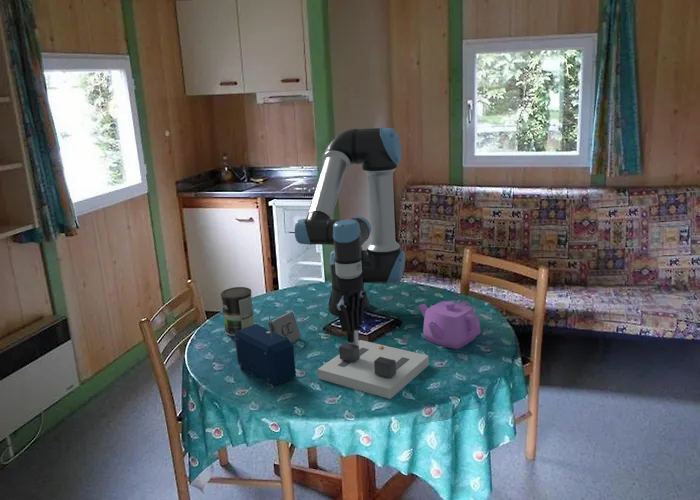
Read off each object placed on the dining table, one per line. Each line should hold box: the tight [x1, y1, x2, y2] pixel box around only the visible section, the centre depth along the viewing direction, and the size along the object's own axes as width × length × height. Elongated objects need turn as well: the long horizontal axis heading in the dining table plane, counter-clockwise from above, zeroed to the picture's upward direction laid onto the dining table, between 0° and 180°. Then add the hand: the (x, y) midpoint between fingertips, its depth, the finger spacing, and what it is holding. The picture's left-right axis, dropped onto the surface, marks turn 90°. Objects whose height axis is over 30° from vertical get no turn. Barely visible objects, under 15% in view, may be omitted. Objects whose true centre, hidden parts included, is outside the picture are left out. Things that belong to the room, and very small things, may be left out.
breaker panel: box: [317, 339, 430, 400], centre depth 183 cm, size 22×24×3 cm
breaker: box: [374, 357, 396, 378], centre depth 174 cm, size 3×5×4 cm, turn 56°
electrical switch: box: [268, 311, 301, 344], centre depth 206 cm, size 9×5×9 cm, turn 141°
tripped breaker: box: [338, 342, 360, 363], centre depth 184 cm, size 3×5×4 cm, turn 55°
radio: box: [234, 313, 297, 387], centre depth 184 cm, size 21×9×20 cm, turn 42°
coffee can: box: [220, 286, 255, 337], centre depth 216 cm, size 10×10×14 cm
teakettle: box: [418, 300, 481, 350], centre depth 200 cm, size 17×17×12 cm
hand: (353, 350), depth 186 cm, fingers closed
